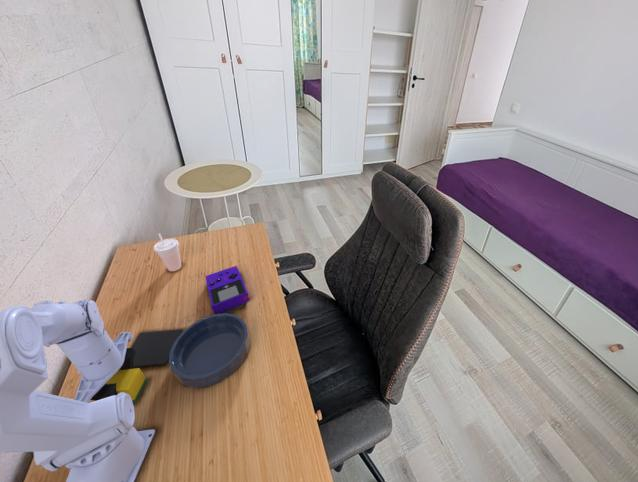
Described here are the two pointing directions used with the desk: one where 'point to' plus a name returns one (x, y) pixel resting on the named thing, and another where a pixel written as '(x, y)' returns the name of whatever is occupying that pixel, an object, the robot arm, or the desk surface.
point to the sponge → (129, 382)
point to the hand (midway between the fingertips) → (121, 389)
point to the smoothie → (169, 253)
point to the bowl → (209, 350)
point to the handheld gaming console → (226, 290)
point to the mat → (154, 347)
